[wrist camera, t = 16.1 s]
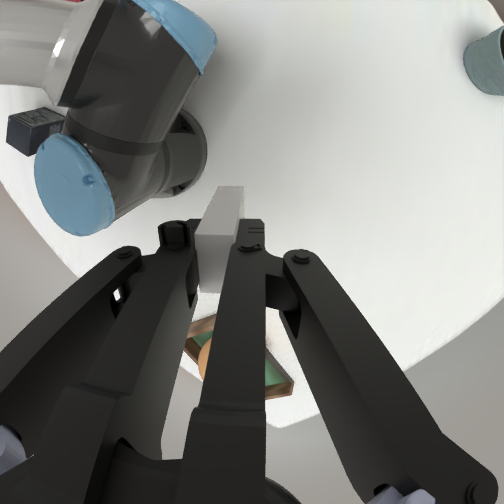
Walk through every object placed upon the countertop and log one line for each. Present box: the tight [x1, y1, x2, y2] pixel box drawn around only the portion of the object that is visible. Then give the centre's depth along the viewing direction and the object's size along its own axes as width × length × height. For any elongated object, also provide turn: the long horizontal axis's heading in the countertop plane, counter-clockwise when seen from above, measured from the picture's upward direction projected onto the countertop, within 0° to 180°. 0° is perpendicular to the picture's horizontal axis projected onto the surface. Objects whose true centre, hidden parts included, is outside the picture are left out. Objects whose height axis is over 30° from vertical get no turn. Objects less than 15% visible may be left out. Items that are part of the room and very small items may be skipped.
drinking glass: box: [464, 26, 504, 96], centre depth 18 cm, size 10×10×12 cm
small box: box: [6, 108, 66, 157], centre depth 40 cm, size 11×6×10 cm, turn 64°
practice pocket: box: [184, 314, 294, 400], centre depth 51 cm, size 16×25×22 cm, turn 33°
